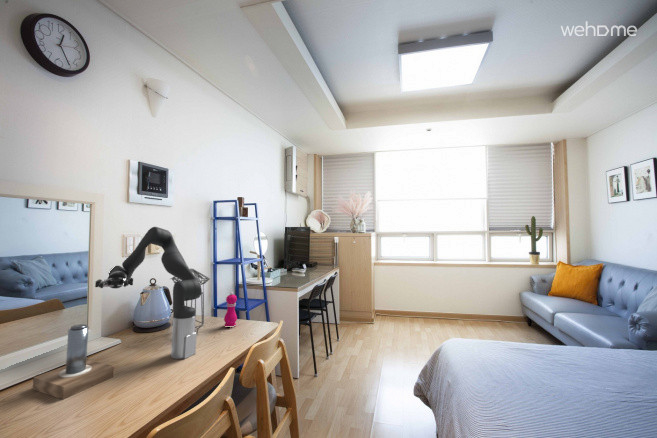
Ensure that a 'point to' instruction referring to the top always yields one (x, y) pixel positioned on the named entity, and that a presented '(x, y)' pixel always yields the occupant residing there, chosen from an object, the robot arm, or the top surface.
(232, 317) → the pepper mill
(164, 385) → the top surface
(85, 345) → the cylinder
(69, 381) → the stand
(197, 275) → the geometric lantern
